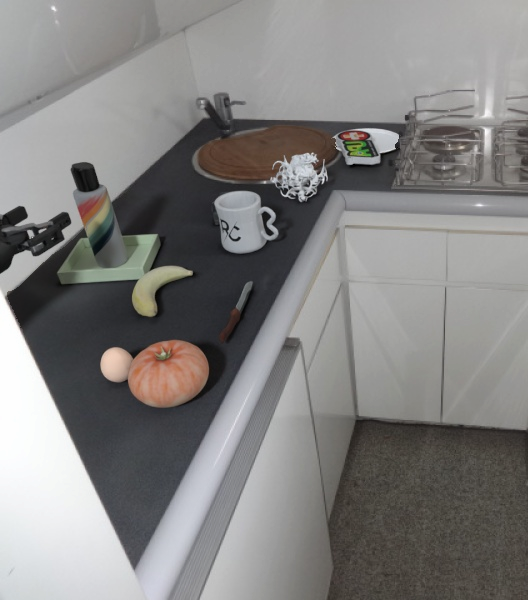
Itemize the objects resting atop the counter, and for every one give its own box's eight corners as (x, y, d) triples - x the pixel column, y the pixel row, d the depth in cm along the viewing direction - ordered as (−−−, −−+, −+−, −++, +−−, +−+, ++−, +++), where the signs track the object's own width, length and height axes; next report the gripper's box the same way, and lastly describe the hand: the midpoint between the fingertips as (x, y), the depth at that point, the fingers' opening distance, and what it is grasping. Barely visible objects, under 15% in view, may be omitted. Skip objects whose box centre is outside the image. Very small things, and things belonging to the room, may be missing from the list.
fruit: (117, 318, 100) (112, 302, 98) (159, 271, 112) (155, 256, 110) (157, 322, 99) (152, 306, 97) (195, 274, 111) (191, 259, 109)
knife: (249, 286, 108) (247, 272, 106) (257, 286, 108) (255, 272, 106) (218, 350, 93) (214, 335, 91) (227, 350, 93) (224, 335, 91)
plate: (329, 158, 158) (329, 154, 157) (331, 132, 175) (331, 128, 174) (406, 156, 159) (406, 152, 158) (400, 131, 176) (400, 126, 175)
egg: (128, 365, 90) (118, 336, 86) (144, 377, 87) (134, 348, 84) (101, 380, 87) (89, 350, 84) (116, 393, 85) (104, 364, 81)
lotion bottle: (97, 257, 115) (63, 161, 103) (127, 251, 117) (98, 156, 105) (97, 271, 111) (62, 172, 99) (129, 265, 113) (98, 167, 101)
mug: (214, 252, 118) (204, 207, 112) (235, 231, 125) (227, 188, 119) (271, 259, 115) (264, 214, 110) (289, 238, 123) (283, 194, 117)
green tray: (61, 284, 108) (56, 272, 107) (84, 248, 119) (80, 238, 117) (146, 278, 110) (142, 267, 108) (160, 244, 120) (158, 233, 119)
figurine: (335, 152, 135) (334, 202, 138) (298, 146, 144) (298, 192, 148) (289, 154, 126) (290, 206, 130) (253, 146, 136) (254, 196, 140)
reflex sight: (237, 203, 136) (232, 183, 133) (233, 222, 128) (228, 201, 125) (220, 205, 136) (215, 185, 133) (215, 224, 127) (209, 203, 124)
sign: (382, 157, 150) (344, 159, 148) (382, 163, 151) (344, 166, 149) (368, 129, 167) (334, 131, 166) (368, 135, 169) (334, 137, 167)
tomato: (119, 400, 83) (103, 358, 79) (180, 359, 91) (169, 318, 86) (168, 432, 78) (154, 389, 74) (229, 385, 86) (219, 344, 81)
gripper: (-5, 247, 80) (75, 198, 93) (-88, 234, 83) (1, 188, 96) (16, 292, 85) (90, 238, 98) (-64, 278, 88) (18, 228, 100)
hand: (46, 214), depth 97 cm, fingers open, 8 cm apart
